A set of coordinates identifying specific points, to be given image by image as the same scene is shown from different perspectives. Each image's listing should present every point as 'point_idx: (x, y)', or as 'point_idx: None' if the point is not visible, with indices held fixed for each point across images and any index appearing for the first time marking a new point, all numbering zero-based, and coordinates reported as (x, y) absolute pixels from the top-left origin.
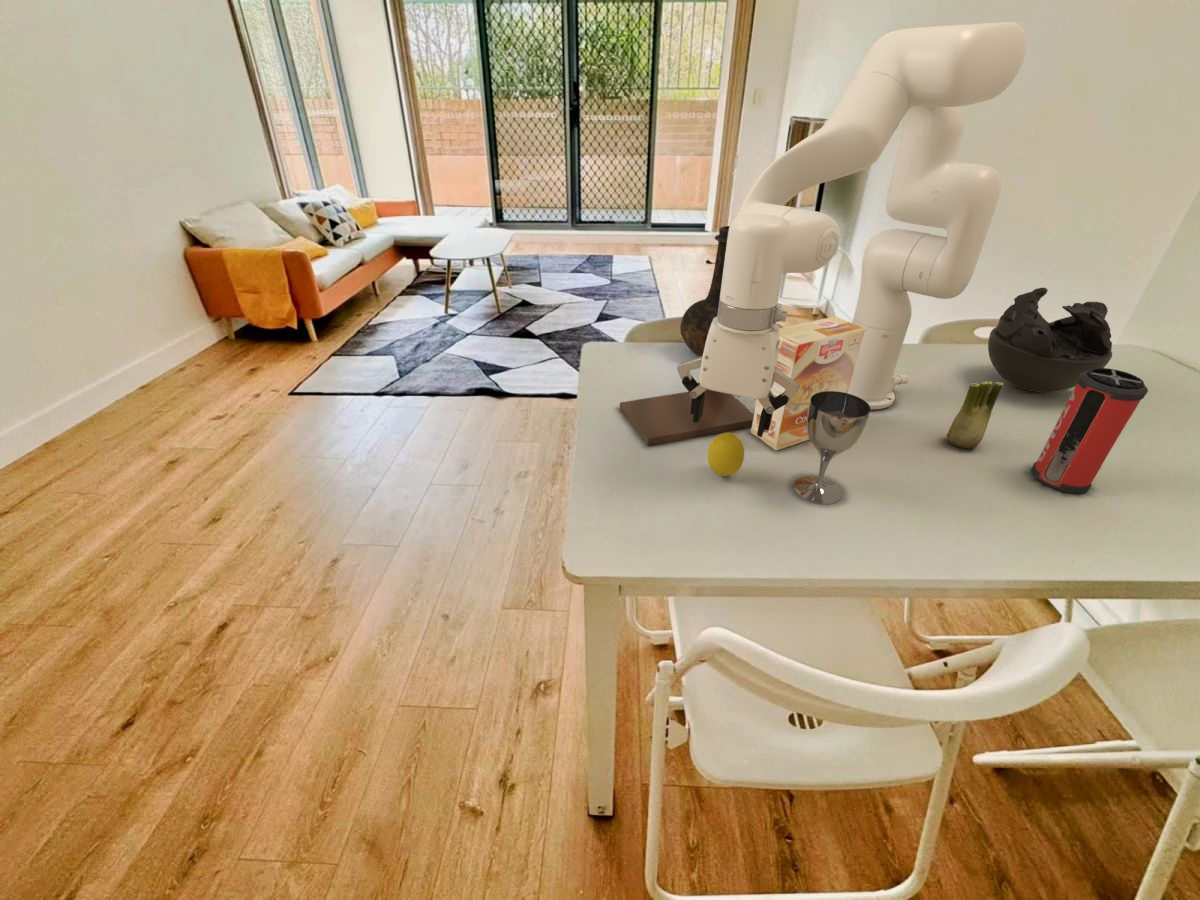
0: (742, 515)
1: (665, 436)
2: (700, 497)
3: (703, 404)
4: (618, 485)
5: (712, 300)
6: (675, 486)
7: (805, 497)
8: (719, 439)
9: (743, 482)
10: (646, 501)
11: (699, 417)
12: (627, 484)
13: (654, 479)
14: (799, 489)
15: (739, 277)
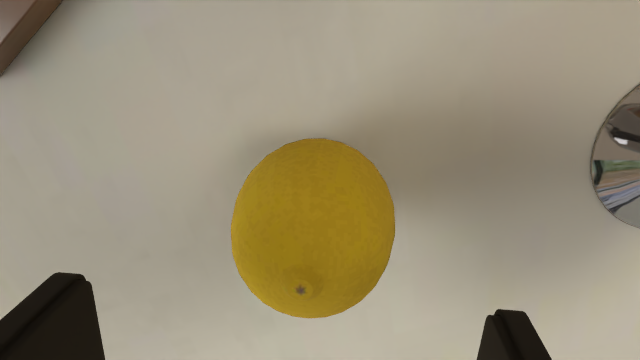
0: (414, 342)
1: (18, 28)
2: None
3: (35, 342)
4: None
5: None
6: (196, 277)
7: (628, 216)
8: (264, 297)
9: (401, 191)
10: (152, 355)
11: (91, 358)
12: None
13: (124, 263)
14: (613, 181)
15: None
